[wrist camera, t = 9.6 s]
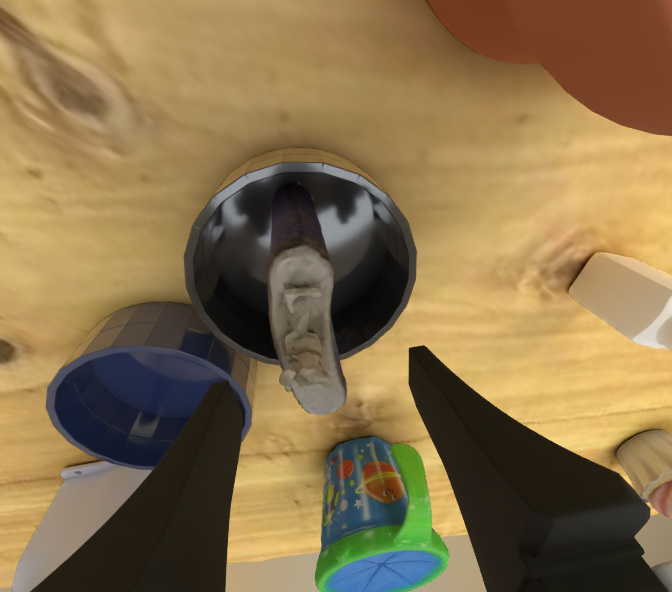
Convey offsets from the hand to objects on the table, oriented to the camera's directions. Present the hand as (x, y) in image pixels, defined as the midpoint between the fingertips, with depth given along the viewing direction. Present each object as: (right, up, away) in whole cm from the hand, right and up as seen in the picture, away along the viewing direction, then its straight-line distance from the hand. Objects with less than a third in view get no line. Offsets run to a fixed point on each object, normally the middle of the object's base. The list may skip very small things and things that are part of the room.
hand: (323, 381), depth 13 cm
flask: (-2, +6, +8) cm, 10 cm away
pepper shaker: (+21, +5, +12) cm, 25 cm away
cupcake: (+39, -15, +27) cm, 50 cm away
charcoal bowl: (-2, +6, +8) cm, 10 cm away
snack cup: (+3, -13, +21) cm, 25 cm away
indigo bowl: (-12, -2, +12) cm, 17 cm away
